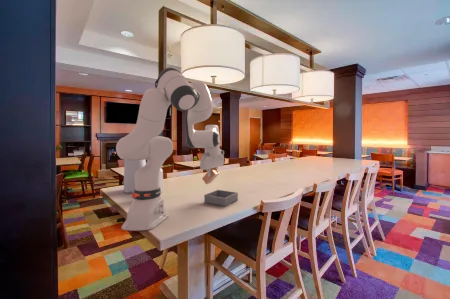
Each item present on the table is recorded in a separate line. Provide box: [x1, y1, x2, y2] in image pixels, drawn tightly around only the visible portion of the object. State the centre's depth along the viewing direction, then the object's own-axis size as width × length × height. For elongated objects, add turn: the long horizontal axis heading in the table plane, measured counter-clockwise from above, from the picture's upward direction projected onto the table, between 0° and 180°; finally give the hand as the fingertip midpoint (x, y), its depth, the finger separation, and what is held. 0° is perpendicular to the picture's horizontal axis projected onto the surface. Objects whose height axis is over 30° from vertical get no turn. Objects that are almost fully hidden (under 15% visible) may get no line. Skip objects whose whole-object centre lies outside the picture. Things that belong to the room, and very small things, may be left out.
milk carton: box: [159, 168, 164, 193], centre depth 158 cm, size 7×7×19 cm
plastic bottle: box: [123, 160, 147, 194], centre depth 163 cm, size 15×15×28 cm
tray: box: [203, 189, 239, 207], centre depth 136 cm, size 14×14×5 cm
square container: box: [201, 167, 220, 185], centre depth 139 cm, size 4×4×10 cm
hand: (212, 175), depth 138 cm, fingers closed on square container, 4 cm apart
